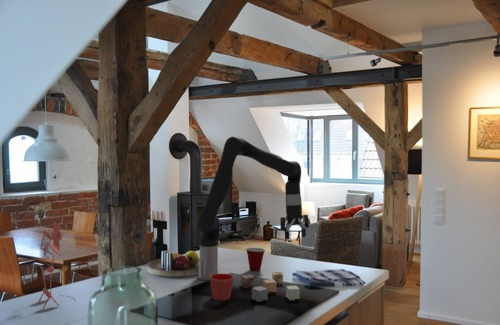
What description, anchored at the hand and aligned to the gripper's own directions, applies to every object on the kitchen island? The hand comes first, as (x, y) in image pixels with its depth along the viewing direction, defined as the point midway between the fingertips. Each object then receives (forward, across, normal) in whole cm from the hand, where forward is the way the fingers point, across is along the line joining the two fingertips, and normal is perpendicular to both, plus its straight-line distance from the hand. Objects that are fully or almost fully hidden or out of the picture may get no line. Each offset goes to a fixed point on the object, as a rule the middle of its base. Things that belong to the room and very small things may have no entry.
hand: (295, 238), depth 225 cm
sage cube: (+26, +7, +7) cm, 28 cm away
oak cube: (+24, +2, -16) cm, 29 cm away
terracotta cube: (+24, +12, -6) cm, 28 cm away
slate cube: (+25, +22, +3) cm, 33 cm away
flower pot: (+24, +37, -6) cm, 44 cm away
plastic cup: (+23, +2, -43) cm, 48 cm away
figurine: (+19, +104, -28) cm, 109 cm away
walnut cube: (+24, +18, -17) cm, 34 cm away
